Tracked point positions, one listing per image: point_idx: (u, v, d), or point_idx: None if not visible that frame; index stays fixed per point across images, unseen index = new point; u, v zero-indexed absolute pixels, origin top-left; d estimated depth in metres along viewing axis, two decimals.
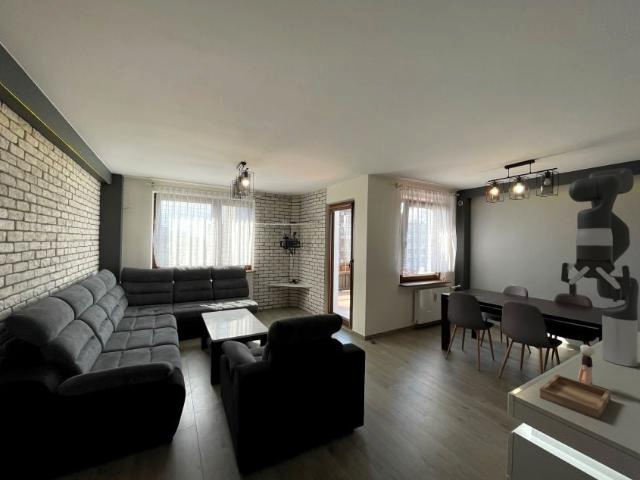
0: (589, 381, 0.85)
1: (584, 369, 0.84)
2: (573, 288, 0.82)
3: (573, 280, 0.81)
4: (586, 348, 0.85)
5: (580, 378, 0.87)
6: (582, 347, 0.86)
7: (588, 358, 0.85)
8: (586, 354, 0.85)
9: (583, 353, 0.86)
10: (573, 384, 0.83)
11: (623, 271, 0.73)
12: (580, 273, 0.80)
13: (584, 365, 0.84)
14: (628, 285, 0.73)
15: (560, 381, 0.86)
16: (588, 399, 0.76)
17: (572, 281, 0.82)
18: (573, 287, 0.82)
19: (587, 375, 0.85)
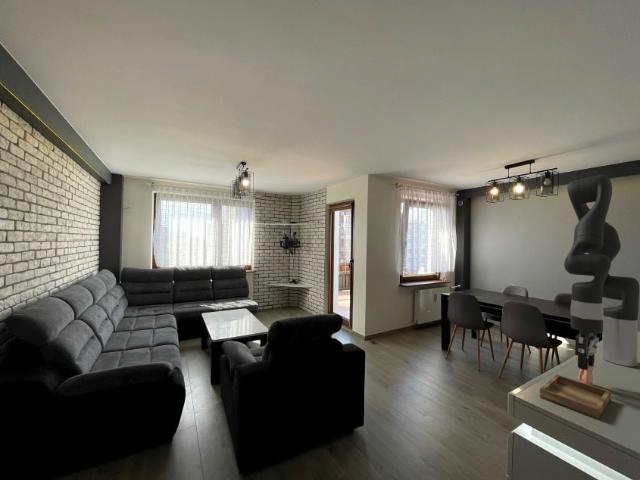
0: (589, 380, 0.85)
1: None
2: (587, 361, 0.83)
3: (588, 354, 0.83)
4: None
5: (580, 377, 0.87)
6: None
7: (590, 357, 0.85)
8: None
9: None
10: (573, 384, 0.83)
11: (595, 336, 0.89)
12: (591, 346, 0.83)
13: None
14: (596, 346, 0.89)
15: (560, 381, 0.86)
16: (588, 399, 0.76)
17: (588, 355, 0.83)
18: (587, 360, 0.83)
19: (588, 374, 0.85)
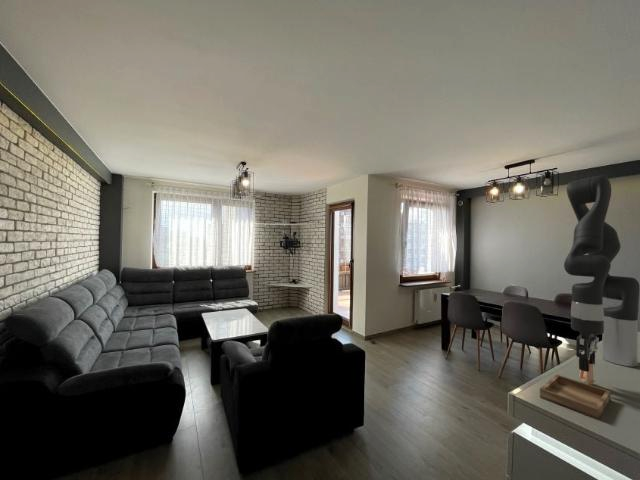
0: (590, 378, 0.85)
1: None
2: None
3: (589, 355, 0.83)
4: None
5: (581, 375, 0.87)
6: None
7: None
8: None
9: None
10: (573, 384, 0.83)
11: (596, 337, 0.88)
12: (592, 347, 0.83)
13: None
14: (597, 348, 0.89)
15: (560, 381, 0.86)
16: (588, 399, 0.76)
17: (589, 356, 0.82)
18: None
19: (588, 372, 0.85)
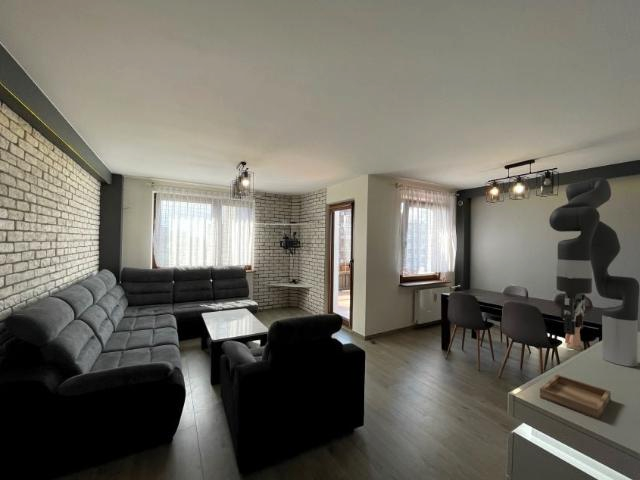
0: (577, 343, 0.76)
1: None
2: (574, 325, 0.74)
3: (575, 316, 0.74)
4: None
5: (567, 340, 0.78)
6: None
7: (576, 317, 0.77)
8: None
9: None
10: (573, 384, 0.83)
11: (584, 299, 0.80)
12: (579, 308, 0.75)
13: None
14: None
15: (560, 381, 0.86)
16: (588, 399, 0.76)
17: (575, 318, 0.74)
18: (574, 324, 0.74)
19: (574, 336, 0.76)
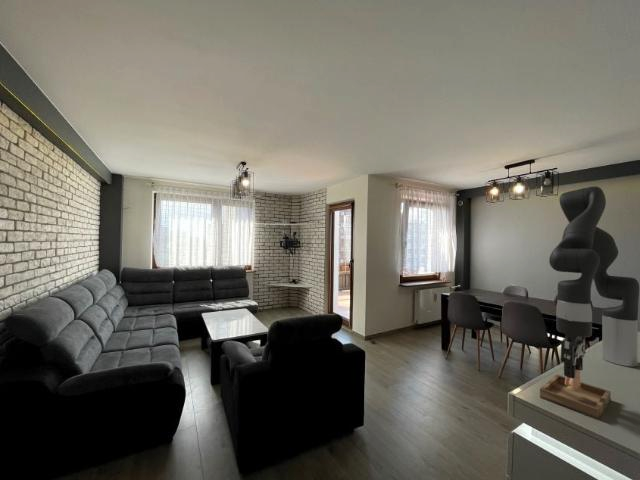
0: (577, 385, 0.76)
1: None
2: (574, 369, 0.74)
3: (575, 360, 0.74)
4: None
5: (567, 381, 0.78)
6: None
7: (576, 360, 0.76)
8: None
9: None
10: None
11: (584, 340, 0.80)
12: (579, 351, 0.75)
13: None
14: (585, 352, 0.80)
15: (560, 381, 0.86)
16: (588, 399, 0.76)
17: (575, 361, 0.74)
18: (574, 368, 0.74)
19: (574, 378, 0.76)
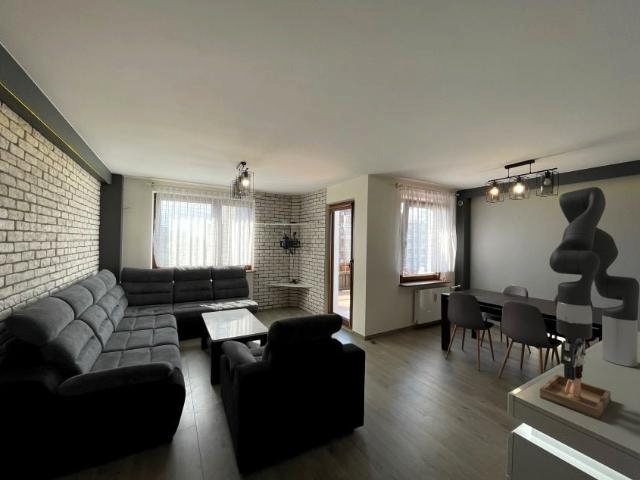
0: (577, 394, 0.76)
1: (572, 381, 0.75)
2: None
3: (575, 362, 0.74)
4: None
5: (567, 389, 0.78)
6: None
7: (577, 368, 0.76)
8: None
9: None
10: None
11: (584, 341, 0.80)
12: (579, 353, 0.75)
13: None
14: (585, 353, 0.80)
15: (560, 381, 0.86)
16: (588, 399, 0.76)
17: (575, 363, 0.74)
18: None
19: (575, 387, 0.76)
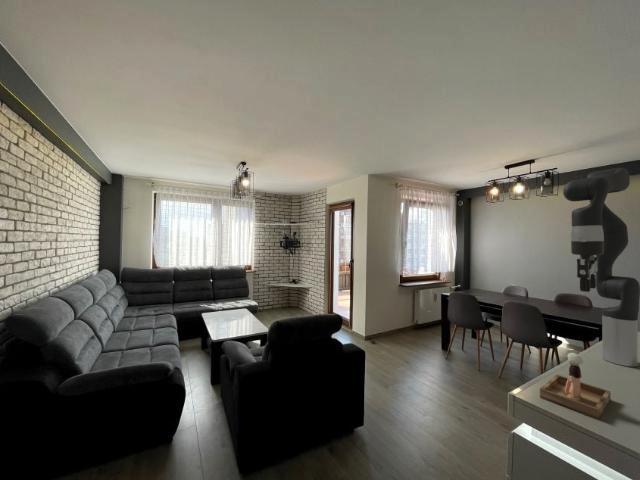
0: (577, 394, 0.76)
1: (571, 380, 0.75)
2: (589, 283, 0.83)
3: (590, 275, 0.83)
4: (573, 356, 0.77)
5: (567, 389, 0.78)
6: (569, 355, 0.77)
7: (576, 368, 0.76)
8: (574, 363, 0.76)
9: (570, 362, 0.77)
10: None
11: None
12: (593, 267, 0.84)
13: (571, 376, 0.75)
14: None
15: (560, 381, 0.86)
16: (588, 399, 0.76)
17: (589, 276, 0.83)
18: (589, 282, 0.83)
19: (575, 387, 0.76)
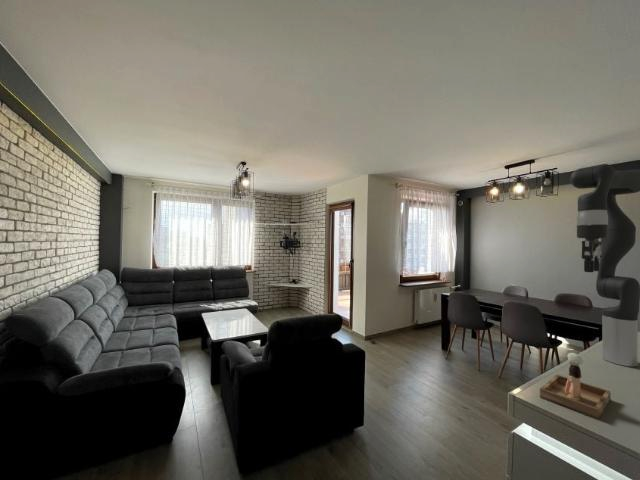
0: (577, 394, 0.76)
1: (571, 380, 0.75)
2: (593, 264, 0.88)
3: (594, 257, 0.88)
4: (573, 356, 0.77)
5: (567, 389, 0.78)
6: (569, 355, 0.77)
7: (576, 368, 0.76)
8: (574, 363, 0.76)
9: (570, 362, 0.77)
10: None
11: None
12: (597, 250, 0.88)
13: (571, 376, 0.75)
14: (601, 256, 0.94)
15: (560, 381, 0.86)
16: (588, 399, 0.76)
17: (593, 258, 0.88)
18: (593, 263, 0.88)
19: (575, 387, 0.76)
